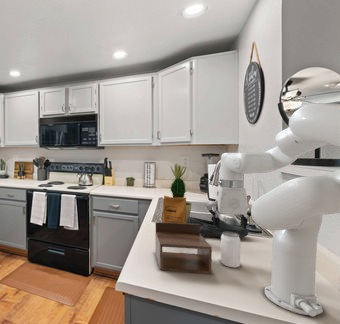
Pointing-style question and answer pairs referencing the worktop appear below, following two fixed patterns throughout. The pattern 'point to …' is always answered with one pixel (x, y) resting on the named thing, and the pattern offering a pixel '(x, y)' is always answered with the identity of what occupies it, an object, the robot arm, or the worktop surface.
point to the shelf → (182, 238)
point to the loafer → (211, 230)
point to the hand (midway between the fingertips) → (229, 227)
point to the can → (230, 249)
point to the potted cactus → (180, 194)
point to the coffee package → (174, 210)
